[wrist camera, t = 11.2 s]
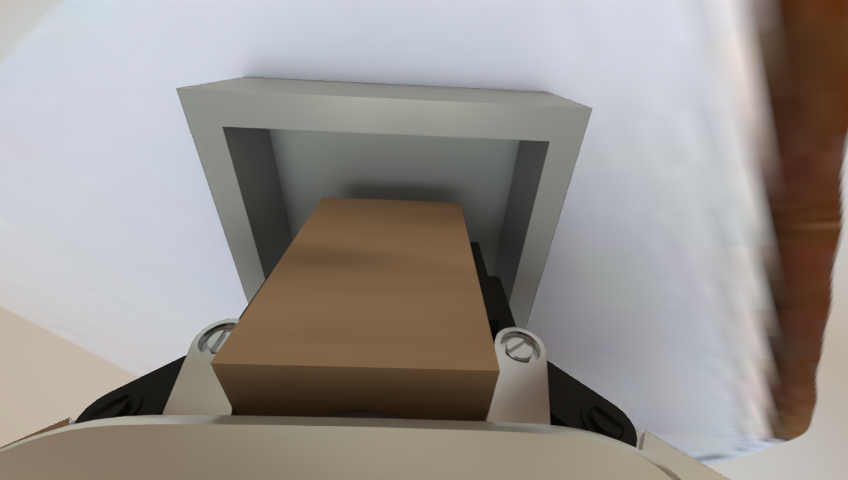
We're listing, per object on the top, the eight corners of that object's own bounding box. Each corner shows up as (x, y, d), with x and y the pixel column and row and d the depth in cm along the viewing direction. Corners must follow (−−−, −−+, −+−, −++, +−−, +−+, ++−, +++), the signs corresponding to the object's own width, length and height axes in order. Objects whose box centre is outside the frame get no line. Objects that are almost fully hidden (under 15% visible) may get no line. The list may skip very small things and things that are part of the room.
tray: (497, 310, 19) (513, 368, 15) (296, 304, 19) (267, 361, 15) (546, 91, 13) (592, 108, 9) (244, 77, 12) (176, 88, 9)
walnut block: (448, 304, 14) (468, 503, 8) (336, 300, 14) (268, 499, 8) (460, 202, 11) (502, 380, 5) (322, 196, 11) (203, 373, 5)
